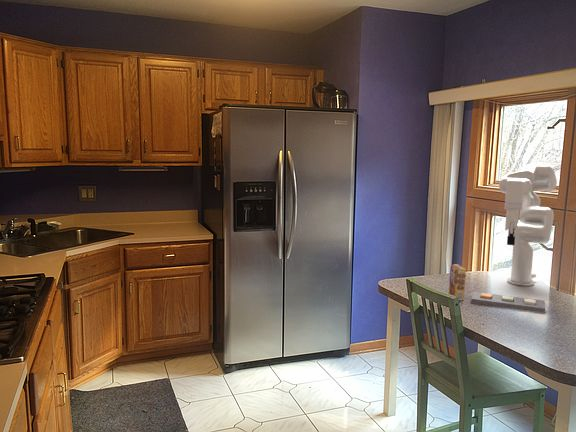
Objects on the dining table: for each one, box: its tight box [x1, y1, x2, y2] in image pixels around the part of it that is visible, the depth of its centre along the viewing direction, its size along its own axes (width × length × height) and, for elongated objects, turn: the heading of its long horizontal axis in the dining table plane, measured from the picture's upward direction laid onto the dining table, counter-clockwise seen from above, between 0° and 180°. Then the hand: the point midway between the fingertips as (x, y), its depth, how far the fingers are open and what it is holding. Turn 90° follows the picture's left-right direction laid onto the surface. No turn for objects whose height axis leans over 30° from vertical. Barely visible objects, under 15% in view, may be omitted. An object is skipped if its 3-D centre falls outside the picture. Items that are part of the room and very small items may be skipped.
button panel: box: [470, 291, 546, 314], centre depth 217 cm, size 12×30×2 cm, turn 64°
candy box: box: [448, 263, 467, 302], centre depth 224 cm, size 9×4×15 cm, turn 2°
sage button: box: [502, 295, 514, 302], centre depth 217 cm, size 4×4×2 cm
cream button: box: [523, 297, 536, 305], centre depth 213 cm, size 4×4×2 cm
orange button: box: [481, 292, 493, 299], centre depth 221 cm, size 4×4×2 cm
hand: (510, 244), depth 225 cm, fingers closed
